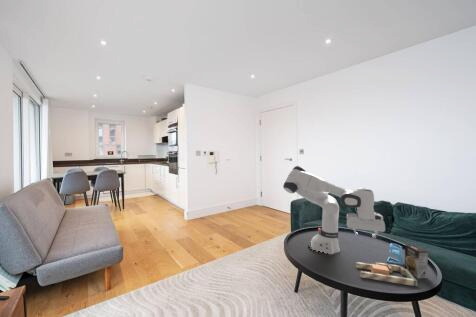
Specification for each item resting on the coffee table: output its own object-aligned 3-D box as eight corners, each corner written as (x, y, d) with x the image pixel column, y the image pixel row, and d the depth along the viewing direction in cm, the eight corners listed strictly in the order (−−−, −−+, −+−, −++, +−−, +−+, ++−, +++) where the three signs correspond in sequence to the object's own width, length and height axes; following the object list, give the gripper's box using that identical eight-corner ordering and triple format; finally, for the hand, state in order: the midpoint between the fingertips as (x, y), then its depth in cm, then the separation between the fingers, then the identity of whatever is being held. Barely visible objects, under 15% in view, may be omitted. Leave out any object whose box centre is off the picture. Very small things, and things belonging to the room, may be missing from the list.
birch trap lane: (361, 277, 123) (361, 272, 123) (355, 263, 138) (355, 259, 138) (417, 286, 115) (417, 281, 115) (404, 270, 129) (404, 266, 129)
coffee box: (403, 269, 131) (404, 244, 130) (413, 269, 131) (414, 244, 131) (417, 278, 122) (418, 251, 121) (427, 278, 122) (428, 251, 122)
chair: (402, 266, 134) (403, 248, 134) (386, 262, 140) (387, 244, 139) (403, 262, 140) (404, 244, 139) (388, 257, 145) (389, 240, 145)
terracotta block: (372, 276, 124) (373, 267, 124) (370, 271, 129) (371, 263, 129) (388, 279, 122) (389, 270, 121) (386, 274, 126) (386, 266, 126)
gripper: (347, 214, 129) (346, 236, 130) (386, 217, 122) (385, 241, 122) (345, 211, 135) (345, 232, 136) (383, 214, 128) (382, 237, 128)
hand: (365, 236), depth 129 cm, fingers open, 8 cm apart
